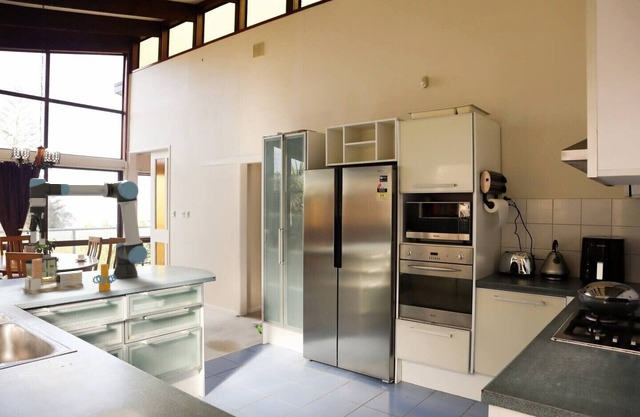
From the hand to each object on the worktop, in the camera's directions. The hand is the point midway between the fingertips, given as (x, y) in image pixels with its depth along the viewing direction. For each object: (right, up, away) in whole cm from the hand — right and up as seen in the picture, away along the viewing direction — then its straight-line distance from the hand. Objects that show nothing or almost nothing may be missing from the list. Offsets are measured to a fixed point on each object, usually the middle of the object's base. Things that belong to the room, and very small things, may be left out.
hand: (37, 243), depth 248 cm
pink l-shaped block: (+3, -23, +4) cm, 23 cm away
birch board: (+5, -27, +6) cm, 28 cm away
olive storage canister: (-16, -27, +22) cm, 38 cm away
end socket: (-2, -25, -2) cm, 25 cm away
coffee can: (-18, -26, +39) cm, 50 cm away
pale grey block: (+10, -25, +13) cm, 30 cm away
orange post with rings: (+36, -27, +4) cm, 45 cm away
